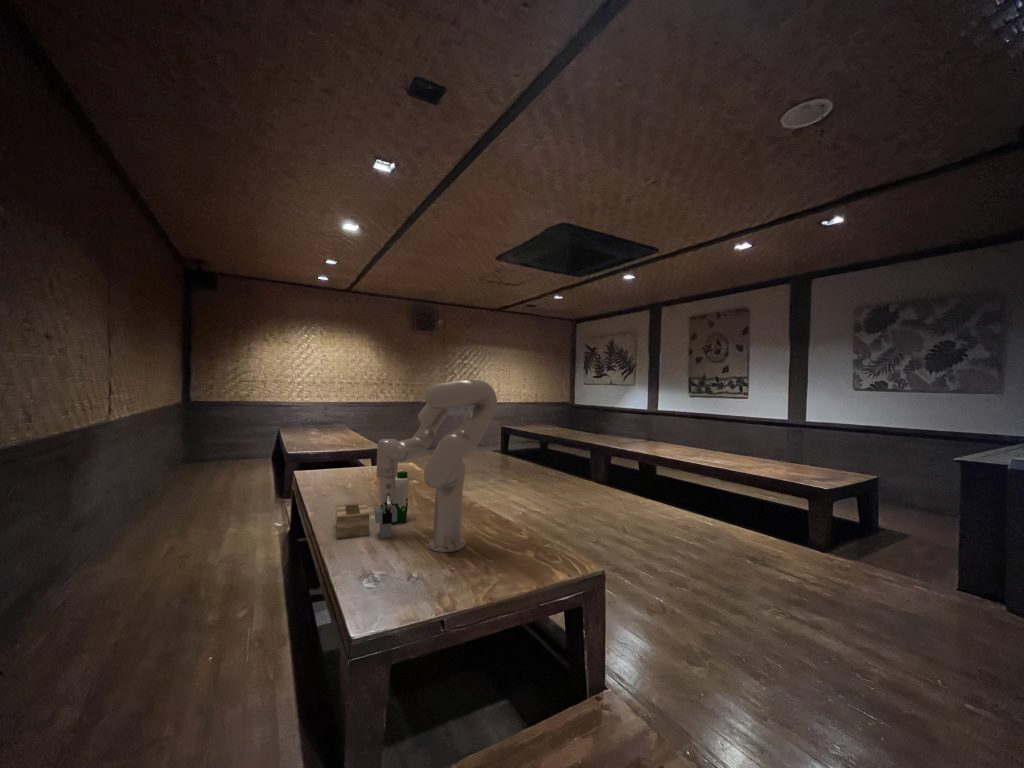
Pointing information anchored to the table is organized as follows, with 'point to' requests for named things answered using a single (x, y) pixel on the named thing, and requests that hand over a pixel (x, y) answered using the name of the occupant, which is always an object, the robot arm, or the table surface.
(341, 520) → the slot rack
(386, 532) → the t peg
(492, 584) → the table surface
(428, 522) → the table surface
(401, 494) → the milk carton
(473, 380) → the robot arm
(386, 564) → the table surface
